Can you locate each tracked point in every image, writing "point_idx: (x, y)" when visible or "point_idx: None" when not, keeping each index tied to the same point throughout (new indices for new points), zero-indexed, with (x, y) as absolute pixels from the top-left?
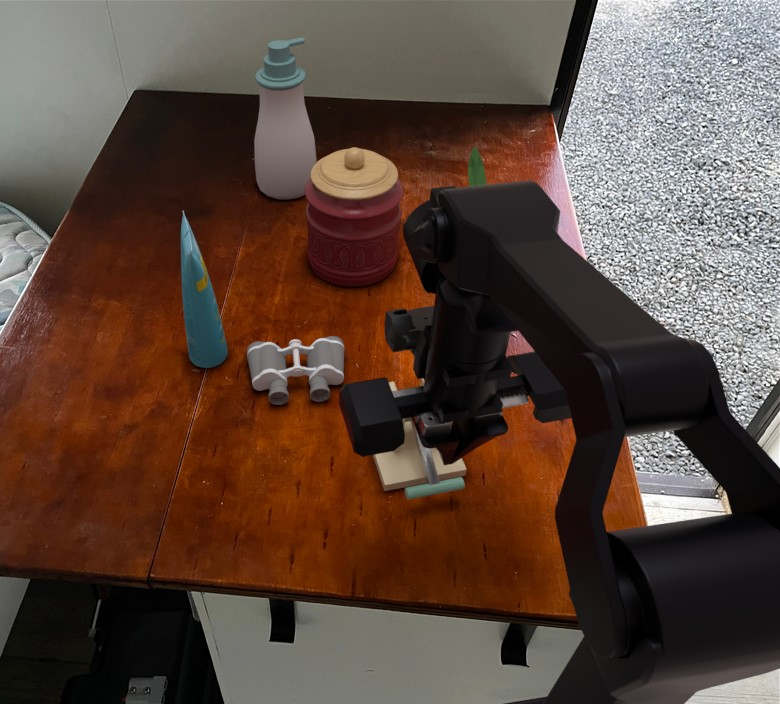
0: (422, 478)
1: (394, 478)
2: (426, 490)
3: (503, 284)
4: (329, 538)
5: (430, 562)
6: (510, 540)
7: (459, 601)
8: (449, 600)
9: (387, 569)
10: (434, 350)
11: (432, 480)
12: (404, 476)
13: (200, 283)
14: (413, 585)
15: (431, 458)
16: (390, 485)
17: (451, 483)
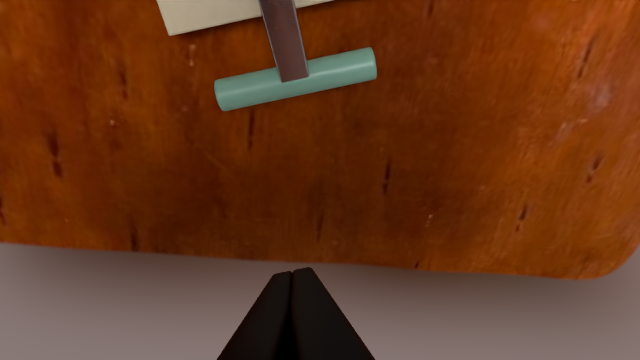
0: None
1: (194, 13)
2: (271, 96)
3: None
4: (64, 154)
5: (278, 201)
6: (442, 157)
7: (321, 262)
8: (305, 261)
9: (195, 214)
10: None
11: (289, 70)
12: (221, 7)
13: None
14: (244, 240)
15: (289, 10)
16: (185, 32)
17: (341, 77)
